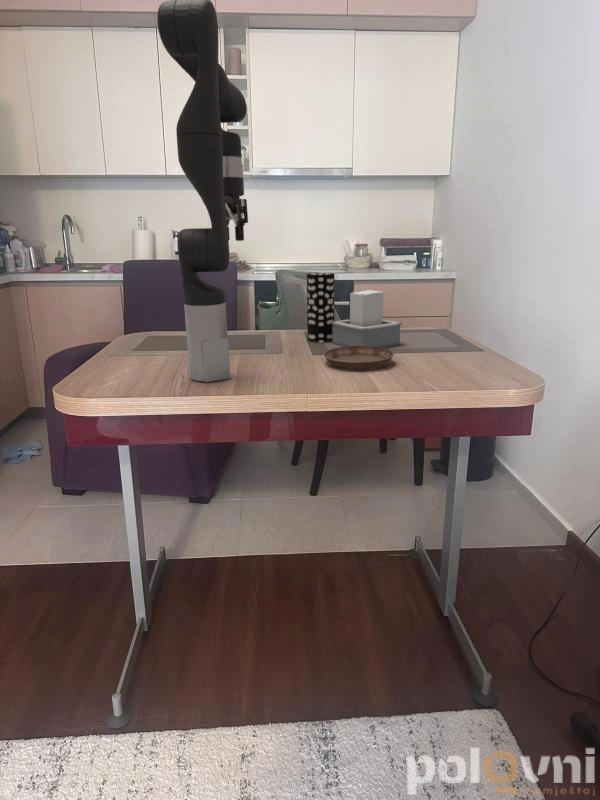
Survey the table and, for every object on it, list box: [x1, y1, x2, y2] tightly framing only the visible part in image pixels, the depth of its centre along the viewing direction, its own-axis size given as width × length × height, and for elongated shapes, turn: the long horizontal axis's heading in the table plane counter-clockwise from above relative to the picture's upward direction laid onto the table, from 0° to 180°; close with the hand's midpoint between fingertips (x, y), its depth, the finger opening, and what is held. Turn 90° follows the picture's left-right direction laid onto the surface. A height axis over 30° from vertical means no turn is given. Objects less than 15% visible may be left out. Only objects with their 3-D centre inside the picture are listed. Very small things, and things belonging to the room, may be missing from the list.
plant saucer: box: [323, 346, 395, 371], centre depth 136 cm, size 18×18×3 cm
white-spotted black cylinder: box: [306, 272, 335, 344], centre depth 163 cm, size 8×8×20 cm
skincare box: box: [349, 289, 384, 327], centre depth 156 cm, size 8×6×15 cm
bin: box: [331, 318, 403, 349], centre depth 158 cm, size 15×15×6 cm
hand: (232, 240), depth 146 cm, fingers open, 8 cm apart
